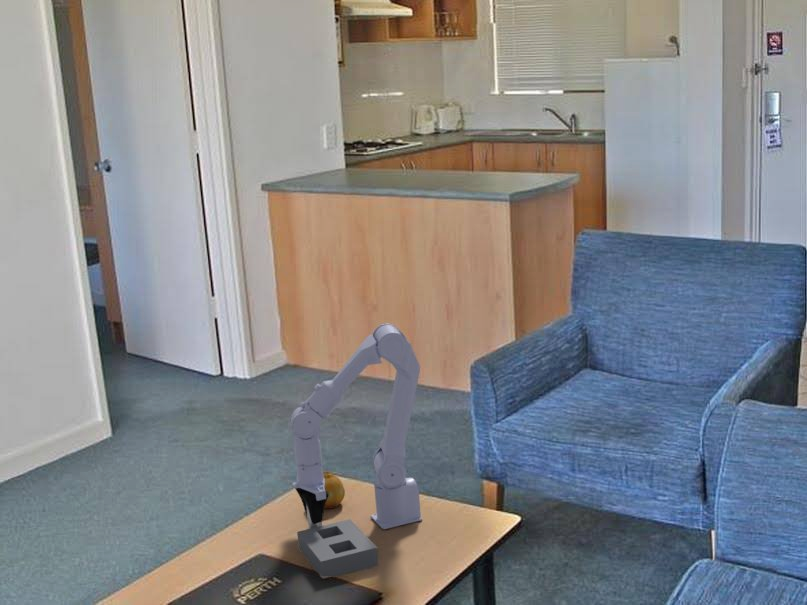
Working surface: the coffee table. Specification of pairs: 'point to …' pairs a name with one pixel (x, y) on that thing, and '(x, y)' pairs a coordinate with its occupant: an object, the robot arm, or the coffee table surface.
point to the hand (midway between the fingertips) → (314, 519)
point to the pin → (311, 521)
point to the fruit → (333, 490)
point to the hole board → (337, 548)
